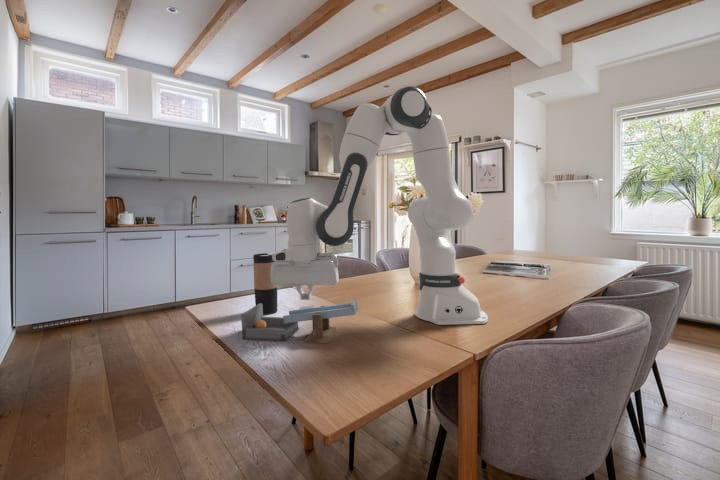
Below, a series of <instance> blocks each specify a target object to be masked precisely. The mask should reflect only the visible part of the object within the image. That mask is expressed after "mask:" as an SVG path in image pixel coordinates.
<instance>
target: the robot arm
mask: <svg viewBox="0 0 720 480" xmlns="http://www.w3.org/2000/svg"><path fill="white" fill-rule="evenodd" d="M432 110H433V109H432V107H431V106H430V103H429V101H428V97H427V96H426V94H425V93H424V92H423V91H422V90H421V89H420V88H418V87H417V86H411V85H410V86H408V85H407V86H404V87H402V88H399V89H398V90H397V91H395V92H394V93H393V94H391V95H390V96H389V97H388V98H386V100H385V102H384V103H383V104H382V105H376V104H374V103H369V102H368V103H362V104H360V105H358V106H357V108H356V109H355V111H354V112H353V114H352V116H351V118H350V120H349V121H348V122H349V123H348V124H347V126H346V129H345V132H344V134H343V137H342V140H341V144H340V148H339V155H338V160H339V164H340V175H339V179H338V182H337V184H336V187H335V190H334V193H333V196H332V199H331V202H330V203H329V205H328V206H327V205H326V204H323V203H321V202H319V201H317V200H316V199H314V198H313V197H305V198H299V199H295V200H293V201H291V202H290V203H289V204H288V206H287V209H286V231H287V233H288V241H287V248H284V249H282V250H281V251H278V252H276V253H273V254H272V255H273V256H272V259H273V261H275V262H273V264H272V266H271V282H272V283H273V285H277V286H295V289H296V291H297V292H298V294H299V296H300V297H299V298H300V300H304V301H307V300H308V301H309V300H311V299H312V293H313V291H314V289H315V288H316V287H315V286H335V285H337V283H338V282H339V280H340V278H339V277H340V276H339V269H338V266H339V258H338V256H337V255H336V254H334V253H333V252H329V253H324V252H322V253H321V252H320V251H319V240H320V241H321V242H322V243H324V244H325V245H328V246H333V247H337V246H342V245H344V244H346V243H347V242H349V240H350V239H351V238H352V236H353V234H354V230H355V227H354V226H355V223H354V210H355V206H356V202H357V200H358V196H359V195H360V194H359V193H360V190H361V187H362V185H363V181H364V179H365V178H366V175H367V174H368V172H369V170H370V168H371V167H372V165H373V163H374V161H375V160H376V157H377V155H378V152H379V149H380V147H381V144H382V140H383V138H384V136H385V135H386V136H398V135H400V134H403V133H406V135H408V137H409V138H410V142H411V144H412V145H411V146H412V148H411V149H412V156H413V165H414V171H415V172H414V173H415V178H416V180H417V182H418V183H420V185H422V187H423V189H424V190H425V193H426V196H422V197H419V198H417V199H414V200H413V201H412V202H411V203H410V205H409V206H408V209H407V217H408V220H409V222H410V223H411V224H412V226H413V228H414V231H415V233H416V237H417V240H418V246H419V253H420V255H419V256H420V272H419V273H418V288H419V289H418V290H419V294H418V302H417V307H416V311H415V314H414V315H415V317H417V318H418V319H421V320H423V321H427V322H430V323H432V324H435V325H439V326H441V325H444V326H445V325H446V326H449V325H480V324H482V325H484V324H486V323H487V322H489V317H488V314H487V312H485V311H483V310H482V309H481V305H480V301H479V298H477V296H476V295H475V294H474V293H472V292H471V291H470V290H468V289H467V288H466V287H465V286H464V285H462V284H465V282H466V278H464V276H463V275H460V274H459V273H457V272H456V266H457V265H456V263H457V262H456V261H457V260H456V259H457V257H456V255H457V254H456V253H457V251H456V249H455V246H454V245H453V244H452V243H451V242H450V239H449V237H448V234H447V232H449V231H450V232H453V231H458V230H462V229H464V228H467V227H468V226H469V225H470V224H471V223H472V220H473V217H474V207H473V204H472V202H471V201H470V200H469V199H468V198H467V197H466V196H465V195H464V194H463V193H462V191H461V190H460V188H459V186H458V184H457V182H456V179H455V177H454V173H453V168H452V161H451V160H452V159H451V154H450V146H449V139H448V134H447V130H446V126H445V123H444V120H443V118H442V117H441V116H440V115H439V114H436V113H433V111H432ZM304 286H307V289H309V290H308V292H305V291H304V290H303V287H304Z"/></svg>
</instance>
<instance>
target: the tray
mask: <svg viewBox="0 0 720 480" xmlns="http://www.w3.org/2000/svg"><path fill="white" fill-rule="evenodd" d="M240 316H241V335H242V337H241V338H242V340H243V341H244V340H245V341H246V340H247V341H249V340H250V341H265V342H266V341H267V342H285V341H287V339H289V338H290V337H291V336H292V335H293V334H294V333H295V332H296V330H298V329H299V322H292V323H284V320H283V316H282V317H280V316H264V315H263V304H258V305H254V306H253V307H251V308H250V309H248V310H246V311H244V312H243V313H241V315H240ZM258 320H264V321H265V322H266V328H255V323H256V322H257V321H258Z"/></svg>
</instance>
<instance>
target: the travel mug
mask: <svg viewBox="0 0 720 480" xmlns="http://www.w3.org/2000/svg"><path fill="white" fill-rule="evenodd" d="M272 256H273V254H268V253H264V252H263V253H255V254H253V257H252V259H253V288H254V300H255V301H254V302H255V305H254V306H256V305H258V304H263V316H266V315H273V314H276V313H277V312H278V285H273V283H272V282H271V266H272V264H273V262H275V261H273V259H272Z"/></svg>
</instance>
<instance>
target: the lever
mask: <svg viewBox="0 0 720 480" xmlns="http://www.w3.org/2000/svg"><path fill="white" fill-rule="evenodd" d="M323 306H324V307H320V306H318V307H315V306H314V305H306V306H301V307H300V308H299V309H295V310H289V311H288V313H289V314H286V315H283V316H282V317H283V320H284V323H292V322H298V323H299V322H306V321H312V315H313V314H322V319H325V318H329V319H332V318H340V317H348V316H349V317H350V316H355V315H356V314H357V312H358V309H359V307H358V306H359V305H358V301H357V299H353V301H352V302H349V303H342V304H334V305H333V304H332V305H323Z"/></svg>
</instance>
